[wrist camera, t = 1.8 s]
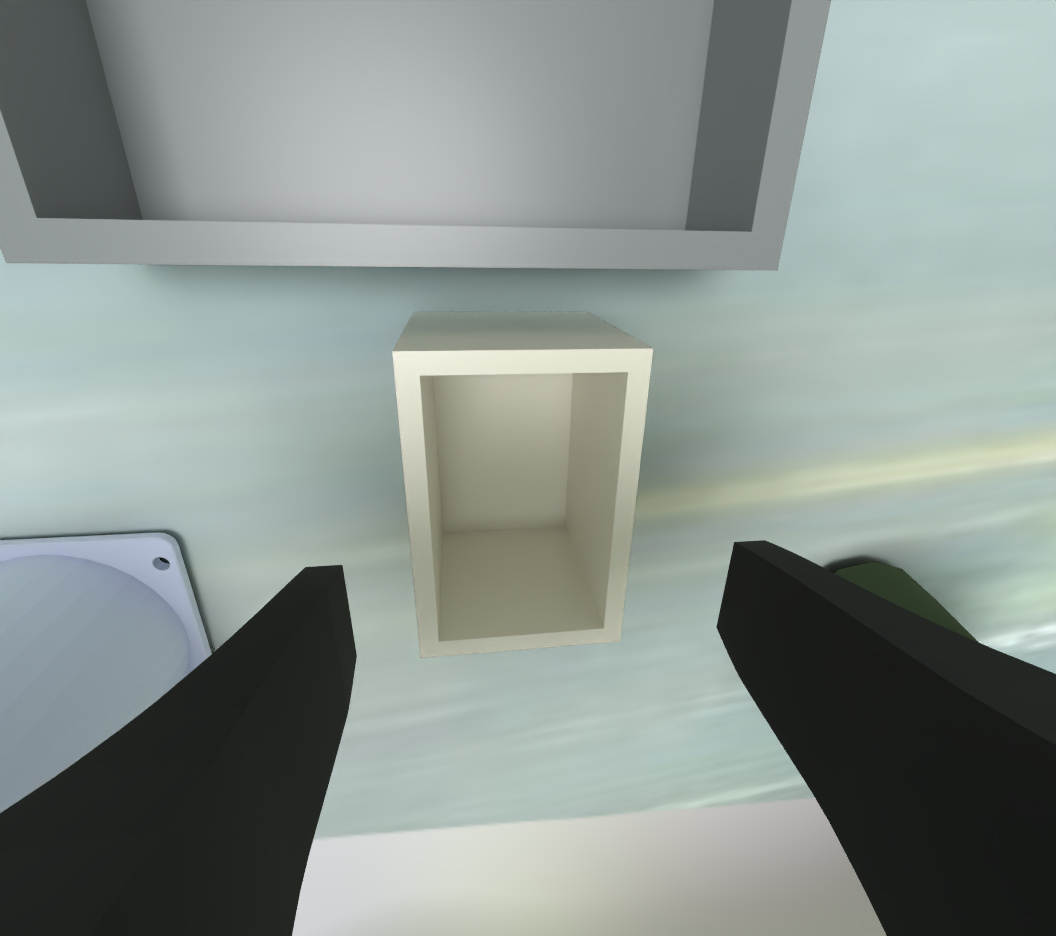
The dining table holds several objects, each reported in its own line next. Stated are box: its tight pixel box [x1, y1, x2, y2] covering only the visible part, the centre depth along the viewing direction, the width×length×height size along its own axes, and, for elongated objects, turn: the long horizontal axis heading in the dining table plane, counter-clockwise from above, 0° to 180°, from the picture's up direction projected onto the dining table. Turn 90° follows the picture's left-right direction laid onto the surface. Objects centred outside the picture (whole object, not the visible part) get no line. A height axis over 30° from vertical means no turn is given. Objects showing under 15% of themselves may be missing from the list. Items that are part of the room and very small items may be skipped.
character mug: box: [835, 562, 979, 643], centre depth 17 cm, size 11×7×13 cm, turn 100°
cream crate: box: [392, 312, 653, 658], centre depth 15 cm, size 8×5×6 cm
